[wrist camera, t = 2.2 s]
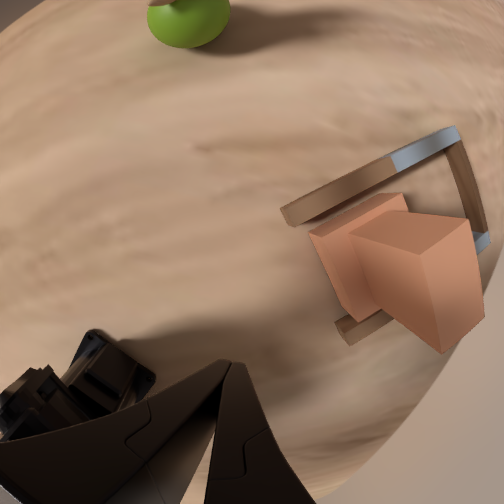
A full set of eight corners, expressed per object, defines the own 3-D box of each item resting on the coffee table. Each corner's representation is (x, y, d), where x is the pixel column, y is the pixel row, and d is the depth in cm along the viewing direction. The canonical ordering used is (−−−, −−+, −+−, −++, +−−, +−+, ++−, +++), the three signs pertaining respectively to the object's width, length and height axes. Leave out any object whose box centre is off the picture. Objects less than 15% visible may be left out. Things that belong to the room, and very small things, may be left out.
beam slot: (340, 334, 20) (349, 346, 18) (279, 208, 18) (285, 208, 16) (475, 239, 20) (490, 242, 18) (440, 129, 18) (454, 125, 16)
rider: (341, 306, 20) (417, 381, 10) (307, 232, 19) (383, 263, 9) (406, 266, 20) (501, 307, 10) (379, 193, 19) (484, 193, 9)
